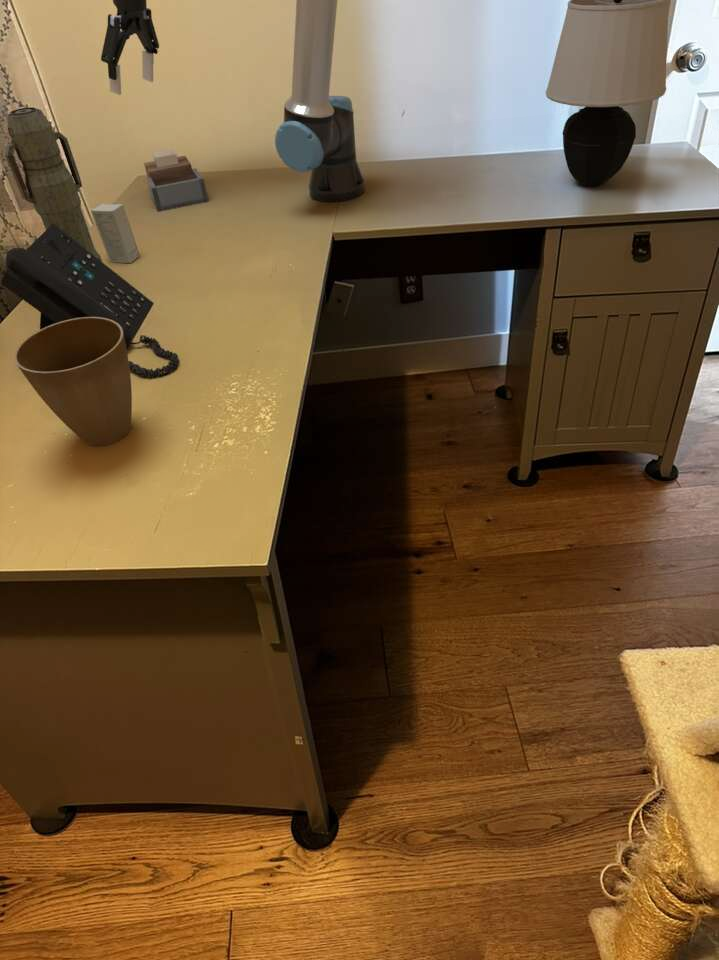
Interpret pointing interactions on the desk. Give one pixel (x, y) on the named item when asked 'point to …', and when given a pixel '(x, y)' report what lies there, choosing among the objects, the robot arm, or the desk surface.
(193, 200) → the box
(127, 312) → the office phone
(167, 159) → the cream tile
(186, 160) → the brown block
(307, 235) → the desk surface
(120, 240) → the skincare box
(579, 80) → the table lamp
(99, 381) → the plant pot
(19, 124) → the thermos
